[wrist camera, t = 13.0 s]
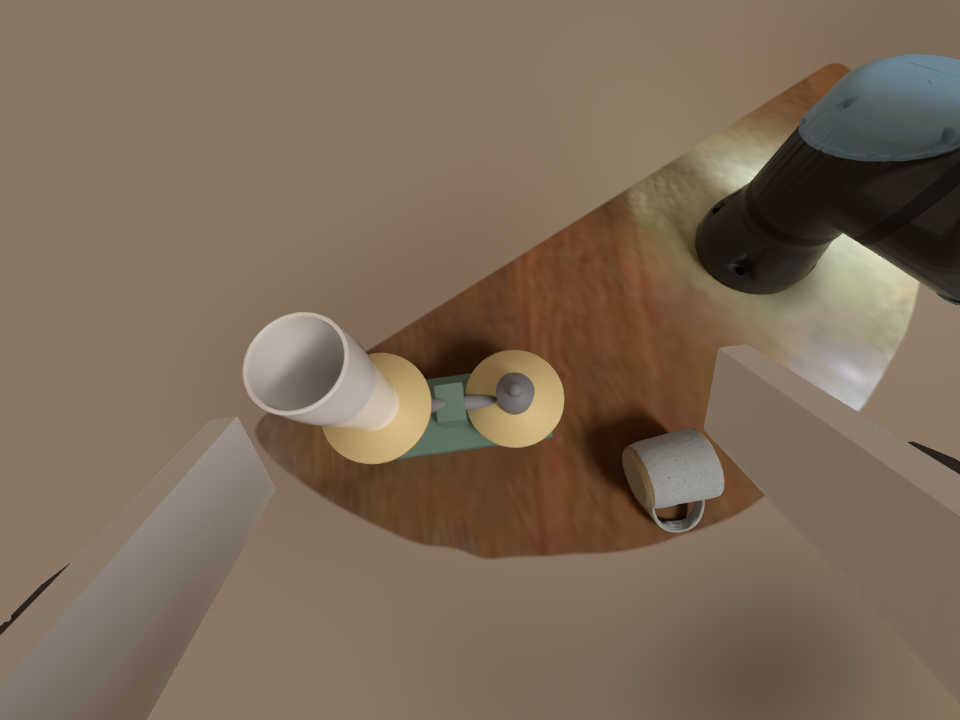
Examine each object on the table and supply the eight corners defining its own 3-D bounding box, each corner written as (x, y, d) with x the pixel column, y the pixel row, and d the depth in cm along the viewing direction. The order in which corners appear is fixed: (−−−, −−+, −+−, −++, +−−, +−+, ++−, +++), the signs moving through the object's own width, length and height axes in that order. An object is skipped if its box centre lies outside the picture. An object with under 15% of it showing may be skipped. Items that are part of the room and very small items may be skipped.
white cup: (363, 361, 38) (282, 293, 24) (420, 389, 37) (370, 336, 23) (327, 420, 37) (216, 385, 23) (385, 452, 36) (308, 437, 21)
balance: (546, 361, 50) (560, 326, 38) (563, 444, 47) (583, 434, 35) (362, 387, 50) (320, 360, 39) (365, 472, 47) (320, 471, 35)
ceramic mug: (611, 447, 46) (632, 444, 39) (674, 430, 47) (707, 423, 39) (644, 538, 43) (673, 552, 36) (711, 519, 44) (754, 529, 36)
